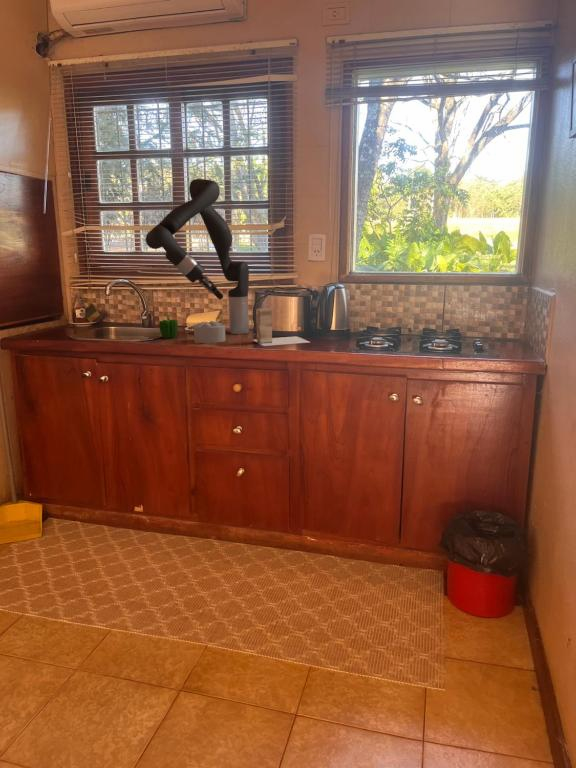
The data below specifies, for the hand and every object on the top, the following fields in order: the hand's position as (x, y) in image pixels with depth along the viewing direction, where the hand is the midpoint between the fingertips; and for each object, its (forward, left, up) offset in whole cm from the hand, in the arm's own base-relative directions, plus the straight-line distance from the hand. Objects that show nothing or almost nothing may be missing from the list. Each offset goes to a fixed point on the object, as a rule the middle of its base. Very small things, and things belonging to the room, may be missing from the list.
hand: (221, 297), depth 222 cm
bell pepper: (-32, -17, -20) cm, 42 cm away
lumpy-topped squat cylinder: (-14, -2, -20) cm, 25 cm away
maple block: (0, +18, -20) cm, 27 cm away
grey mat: (0, +25, -20) cm, 32 cm away
